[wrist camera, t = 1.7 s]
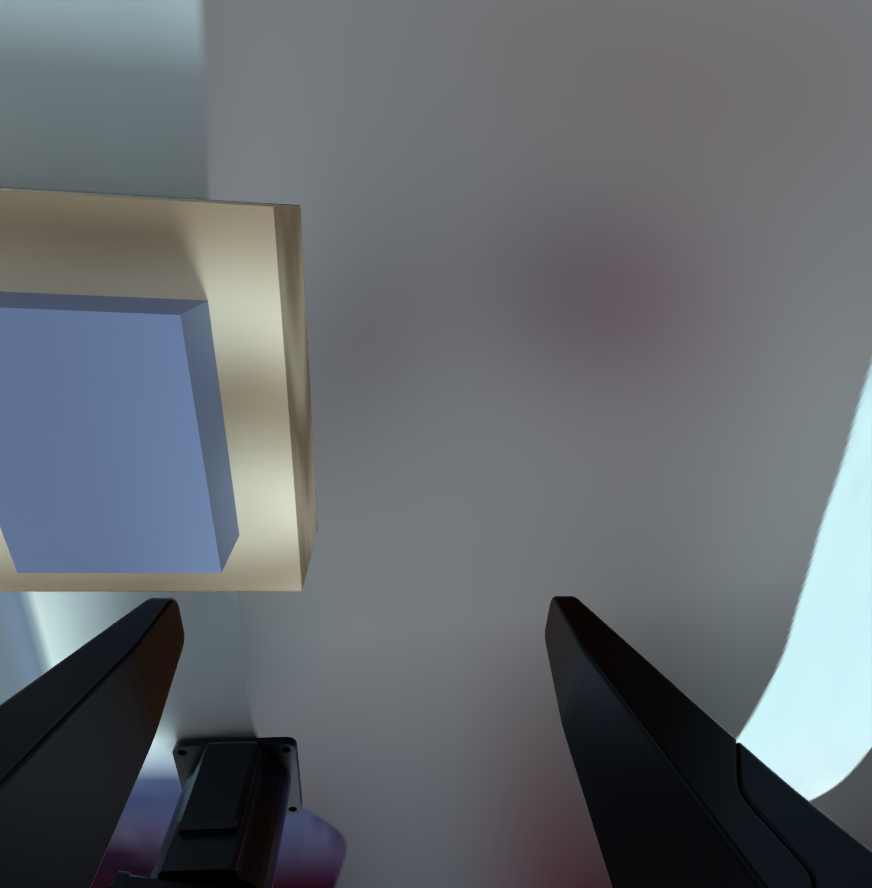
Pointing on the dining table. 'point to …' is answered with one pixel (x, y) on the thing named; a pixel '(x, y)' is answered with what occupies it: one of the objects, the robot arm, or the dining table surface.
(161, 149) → the dining table surface
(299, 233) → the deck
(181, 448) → the periwinkle blue block
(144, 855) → the dining table surface
